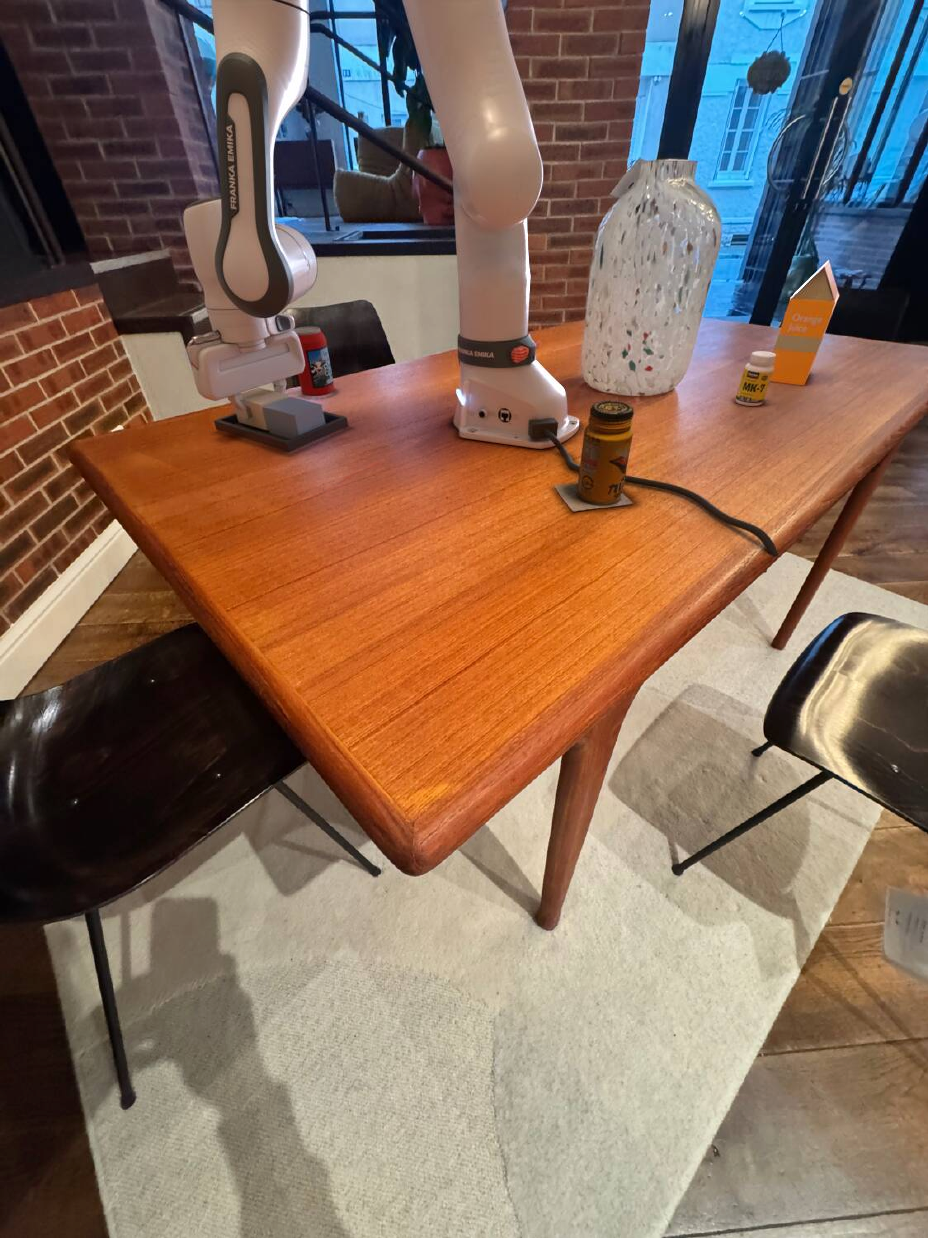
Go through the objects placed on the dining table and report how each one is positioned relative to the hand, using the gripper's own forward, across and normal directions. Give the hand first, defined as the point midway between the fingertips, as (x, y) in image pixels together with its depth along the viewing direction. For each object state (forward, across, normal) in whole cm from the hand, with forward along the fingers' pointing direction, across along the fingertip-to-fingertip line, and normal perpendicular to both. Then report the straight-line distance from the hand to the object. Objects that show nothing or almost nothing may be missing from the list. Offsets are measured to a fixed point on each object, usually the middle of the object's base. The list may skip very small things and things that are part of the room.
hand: (263, 411), depth 94 cm
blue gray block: (+2, 0, -8) cm, 9 cm away
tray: (+3, 0, -4) cm, 5 cm away
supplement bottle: (+3, +56, -70) cm, 90 cm away
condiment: (+3, +6, -61) cm, 61 cm away
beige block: (+2, 0, 0) cm, 2 cm away
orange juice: (+2, +76, -73) cm, 105 cm away
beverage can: (+3, +18, +6) cm, 19 cm away
